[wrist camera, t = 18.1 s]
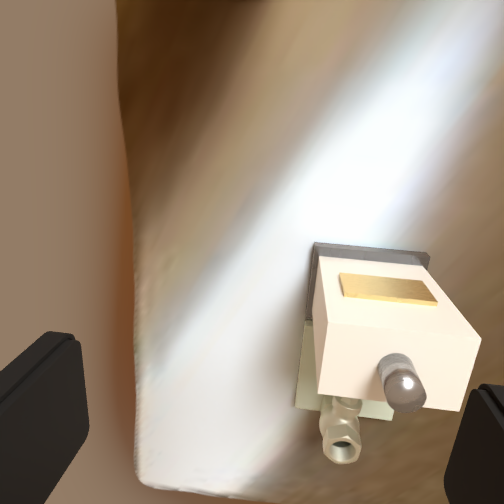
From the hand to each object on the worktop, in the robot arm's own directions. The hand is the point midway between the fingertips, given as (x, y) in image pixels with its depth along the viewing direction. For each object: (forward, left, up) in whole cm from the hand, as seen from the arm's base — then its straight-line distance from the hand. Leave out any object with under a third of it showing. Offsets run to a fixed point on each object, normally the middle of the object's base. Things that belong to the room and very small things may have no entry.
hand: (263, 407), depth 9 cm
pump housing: (+10, +9, -30) cm, 33 cm away
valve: (+20, +8, -29) cm, 37 cm away
